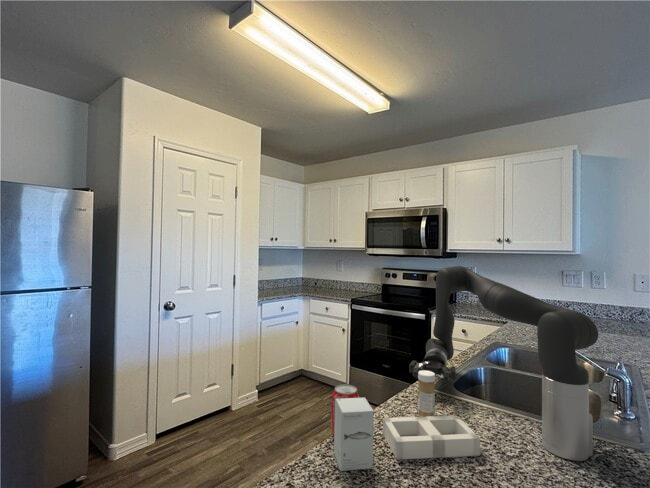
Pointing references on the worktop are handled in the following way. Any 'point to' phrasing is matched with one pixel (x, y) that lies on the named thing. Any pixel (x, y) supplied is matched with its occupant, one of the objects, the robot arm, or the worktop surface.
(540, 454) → the worktop surface
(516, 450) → the worktop surface
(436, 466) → the worktop surface
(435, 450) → the divided compartment tray
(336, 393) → the soda can
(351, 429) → the supplement box
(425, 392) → the sprinkles bottle
